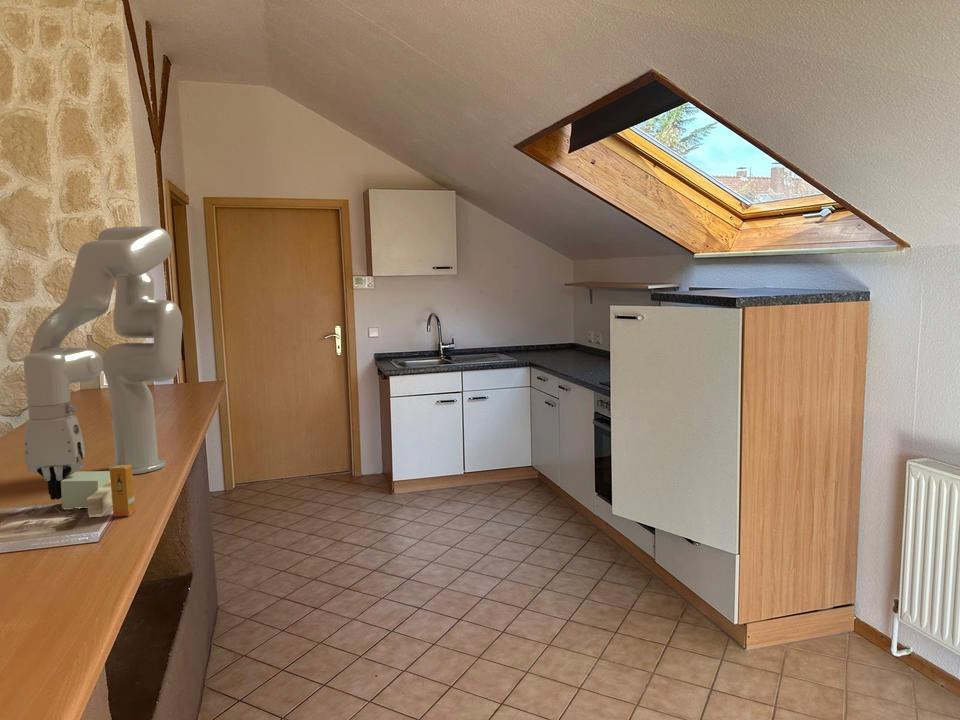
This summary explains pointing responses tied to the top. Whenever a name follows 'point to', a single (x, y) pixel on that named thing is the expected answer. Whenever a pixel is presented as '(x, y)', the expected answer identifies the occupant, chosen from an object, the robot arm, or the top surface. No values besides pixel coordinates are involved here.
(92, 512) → the birch board
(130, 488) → the supplement box
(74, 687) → the top surface
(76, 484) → the green block
